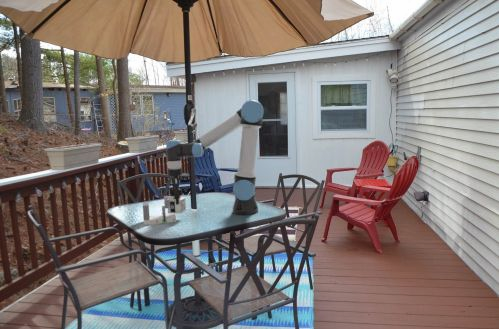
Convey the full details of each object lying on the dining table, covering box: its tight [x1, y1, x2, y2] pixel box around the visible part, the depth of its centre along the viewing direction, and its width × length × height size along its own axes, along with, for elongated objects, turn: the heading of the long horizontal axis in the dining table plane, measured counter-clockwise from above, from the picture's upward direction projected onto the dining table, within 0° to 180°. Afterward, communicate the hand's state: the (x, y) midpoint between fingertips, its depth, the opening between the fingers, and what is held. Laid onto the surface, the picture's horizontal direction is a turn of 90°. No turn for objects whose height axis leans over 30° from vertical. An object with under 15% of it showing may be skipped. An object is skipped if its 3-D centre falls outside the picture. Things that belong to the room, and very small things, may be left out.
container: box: [167, 188, 187, 215], centre depth 210 cm, size 8×8×13 cm
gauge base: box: [142, 201, 177, 226], centre depth 208 cm, size 17×9×10 cm, turn 105°
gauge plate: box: [161, 195, 168, 222], centre depth 208 cm, size 3×10×12 cm, turn 15°
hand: (176, 207), depth 210 cm, fingers closed on container, 10 cm apart
